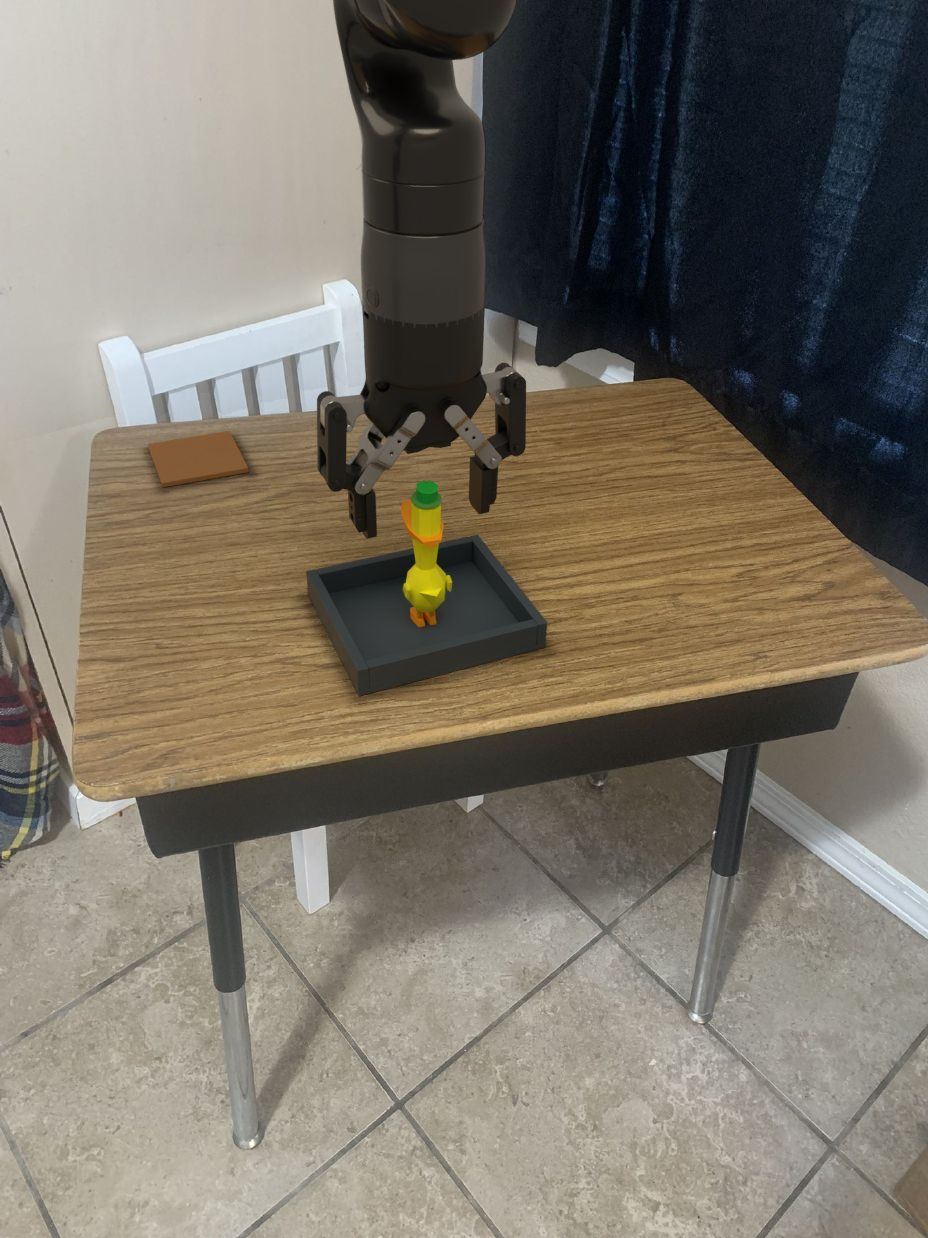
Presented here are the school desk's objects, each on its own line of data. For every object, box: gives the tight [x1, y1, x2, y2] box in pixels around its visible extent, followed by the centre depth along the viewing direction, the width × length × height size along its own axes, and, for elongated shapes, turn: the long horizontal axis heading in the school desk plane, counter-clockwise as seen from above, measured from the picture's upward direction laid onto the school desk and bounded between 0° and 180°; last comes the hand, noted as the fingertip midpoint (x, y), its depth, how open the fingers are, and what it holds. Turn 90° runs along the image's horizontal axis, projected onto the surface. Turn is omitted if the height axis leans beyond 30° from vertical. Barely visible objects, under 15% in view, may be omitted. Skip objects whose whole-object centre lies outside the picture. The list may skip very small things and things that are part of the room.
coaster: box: [147, 430, 250, 488], centre depth 93 cm, size 8×8×1 cm
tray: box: [305, 534, 548, 697], centre depth 74 cm, size 15×13×2 cm
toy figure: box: [400, 480, 452, 627], centre depth 71 cm, size 7×4×12 cm, turn 20°
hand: (423, 520), depth 70 cm, fingers open, 8 cm apart
